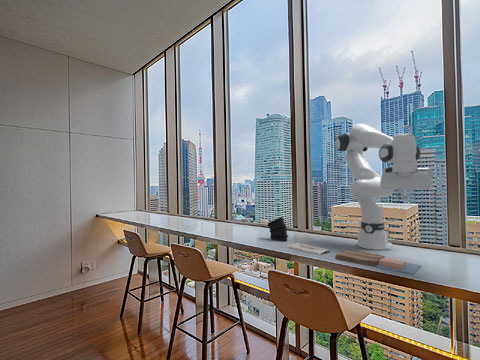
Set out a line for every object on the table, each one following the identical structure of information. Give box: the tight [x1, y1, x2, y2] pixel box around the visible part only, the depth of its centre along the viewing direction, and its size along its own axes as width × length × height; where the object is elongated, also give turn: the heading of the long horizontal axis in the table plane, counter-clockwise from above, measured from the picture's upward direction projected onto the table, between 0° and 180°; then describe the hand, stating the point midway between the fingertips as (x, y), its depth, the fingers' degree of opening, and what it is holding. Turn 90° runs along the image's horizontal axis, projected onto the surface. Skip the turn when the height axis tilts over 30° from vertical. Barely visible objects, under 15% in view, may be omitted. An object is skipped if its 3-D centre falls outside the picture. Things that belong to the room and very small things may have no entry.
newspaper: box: [286, 242, 332, 256], centre depth 150 cm, size 23×12×2 cm, turn 40°
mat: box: [375, 262, 422, 276], centre depth 117 cm, size 16×14×1 cm
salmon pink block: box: [378, 257, 407, 269], centre depth 118 cm, size 9×6×2 cm, turn 45°
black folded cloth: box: [267, 216, 289, 242], centre depth 175 cm, size 4×13×15 cm, turn 53°
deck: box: [334, 249, 386, 267], centre depth 129 cm, size 14×18×2 cm
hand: (405, 199), depth 122 cm, fingers closed
